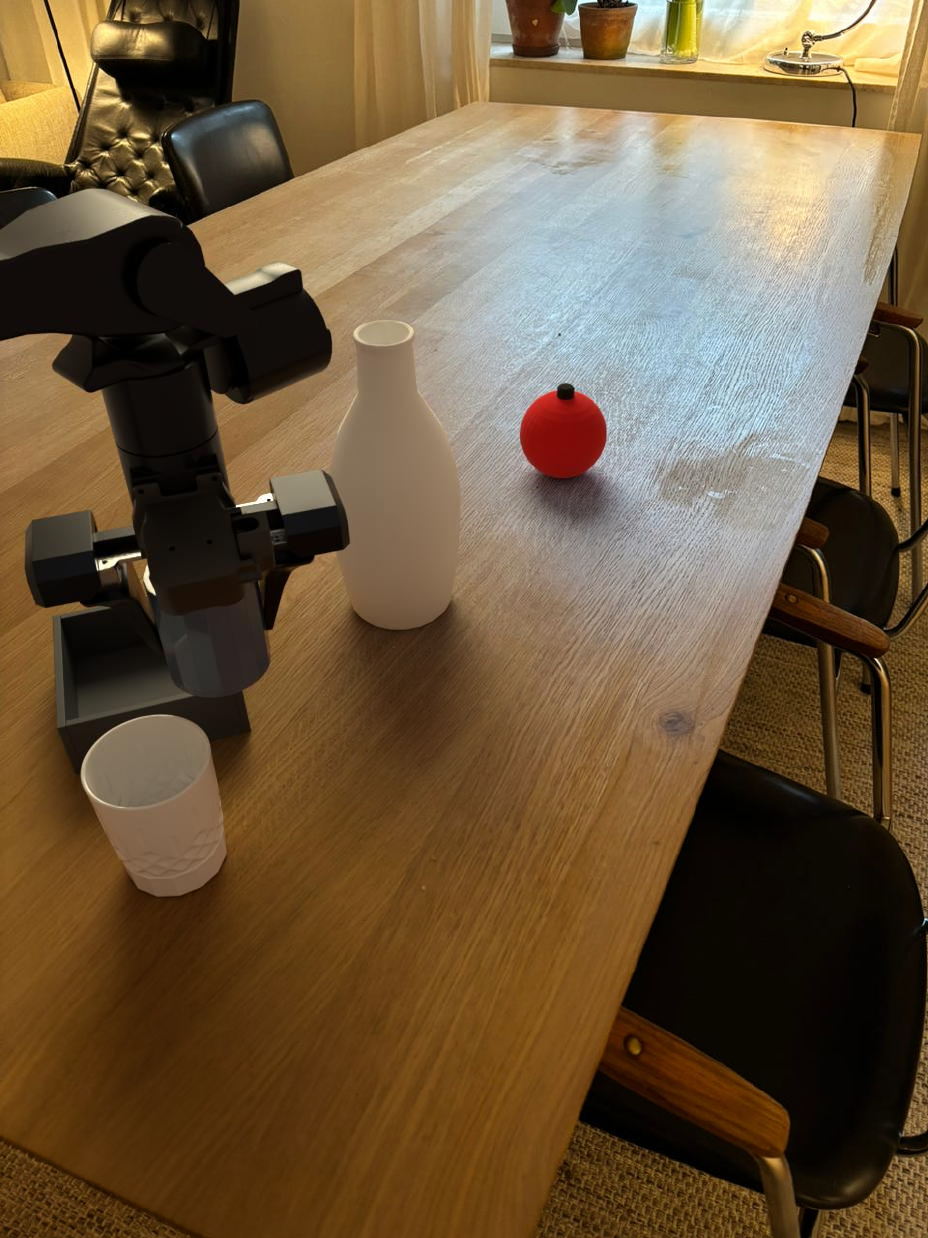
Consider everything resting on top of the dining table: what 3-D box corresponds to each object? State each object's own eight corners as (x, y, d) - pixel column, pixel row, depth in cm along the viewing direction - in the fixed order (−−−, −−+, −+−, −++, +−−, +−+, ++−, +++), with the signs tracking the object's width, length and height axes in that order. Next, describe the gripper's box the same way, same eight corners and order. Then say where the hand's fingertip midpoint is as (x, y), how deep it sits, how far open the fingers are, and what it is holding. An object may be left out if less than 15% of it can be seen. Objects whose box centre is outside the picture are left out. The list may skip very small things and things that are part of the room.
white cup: (171, 927, 64) (135, 831, 58) (95, 866, 68) (54, 769, 61) (259, 846, 69) (236, 749, 62) (184, 793, 73) (154, 697, 66)
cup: (149, 685, 66) (121, 591, 61) (201, 621, 71) (179, 529, 65) (241, 707, 64) (220, 612, 59) (287, 640, 69) (272, 547, 64)
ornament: (618, 464, 106) (626, 378, 100) (578, 504, 101) (584, 416, 94) (544, 441, 110) (548, 357, 104) (502, 478, 104) (504, 392, 98)
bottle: (488, 600, 89) (490, 332, 73) (394, 659, 83) (373, 382, 67) (407, 547, 95) (392, 289, 79) (314, 598, 90) (277, 331, 73)
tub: (75, 774, 74) (56, 728, 71) (69, 661, 84) (52, 616, 80) (251, 730, 77) (241, 684, 74) (225, 626, 87) (215, 581, 84)
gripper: (-15, 541, 48) (71, 758, 58) (360, 474, 52) (379, 686, 62) (-7, 432, 56) (67, 638, 66) (317, 382, 60) (341, 583, 71)
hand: (214, 638), depth 66 cm, fingers closed on cup, 7 cm apart
